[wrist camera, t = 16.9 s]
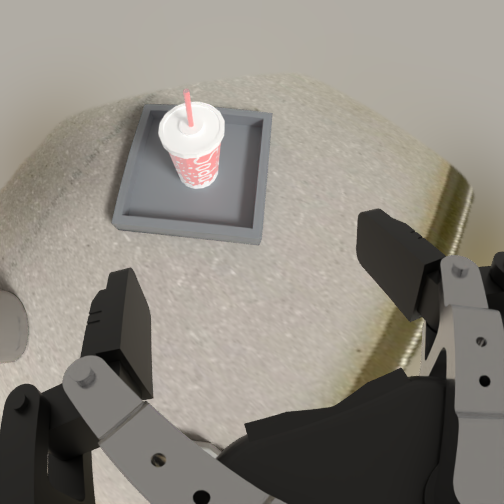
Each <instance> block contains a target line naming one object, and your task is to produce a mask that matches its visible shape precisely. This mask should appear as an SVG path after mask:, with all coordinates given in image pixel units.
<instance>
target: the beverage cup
mask: <svg viewBox="0 0 504 504" xmlns="http://www.w3.org/2000/svg"><path fill="white" fill-rule="evenodd" d="M183 93H184V100H185V103H183V104H181V105H178V106H175V107H174V108H172V109H171V110H170V111H169V112H167V113H166V114H165V115H164V117H163V119H162V120H161V122H160V124H159V132H158V134H159V137H160V139H161V142H162V145H163V147H164V148H165V149H166V150H167V151H168V152H169V154H170V156H171V159H172V161H173V163H174V166H175V168H176V170H177V172H178V175H179V177H180V179H181V181H182V182H183V183H184V184H185V185H186V186H188V187H191V188H193V189H200V188H204V187H207V186H209V185H210V184H211V183H212V182H214V181H215V179H216V177H217V175H218V167H219V156H220V146H221V141H222V139H223V137H224V124H225V120H224V119H223V117H222V115H221V113H220V111H218V110H217V109H216V108H214V107H213V106H212V105H209V104H206V103H202V102H191V101H190V93H189V89H184V90H183Z"/></svg>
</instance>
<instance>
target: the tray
mask: <svg viewBox="0 0 504 504" xmlns="http://www.w3.org/2000/svg"><path fill="white" fill-rule="evenodd" d="M175 106H178V105H165V104H145V106H144V109H143V112H142V115H141V117H140V120H139V124H138V127H137V130H136V133H135V136H134V139H133V142H132V146H131V149H130V153H129V156H128V159H127V163H126V167H125V170H124V174H123V178H122V181H121V185H120V189H119V193H118V197H117V202H116V206H115V210H114V215H113V219H112V224H113V225H114V226H115V227H116V228H117V229H118V230H123V231H132V232H142V233H151V234H161V235H170V236H179V237H189V238H198V239H207V240H216V241H226V242H235V243H244V244H253V245H259V244H260V242H261V240H262V230H263V219H264V207H265V196H266V184H267V173H268V161H269V149H270V137H271V125H272V113H266V112H258V111H249V110H240V109H230V108H219V107H214V108H216V109H217V110H218V111H220V113H221V115H222V117H223V119H224V120H225V124H224V137H223V139H222V141H221V146H220V156H219V167H218V175H217V177H216V179H215V181H214V182H212V183H211V184H210V185H209V186H207V187H204V188H200V189H193V188H191V187H188V186H186V185H185V184H184V183H183V182H182V181H181V179H180V177H179V175H178V172H177V170H176V168H175V166H174V163H173V161H172V159H171V156H170V154H169V152H168V151H167V150H166V149H165V148H164V147H163V145H162V142H161V139H160V137H159V134H158V132H159V124H160V122H161V120H162V119H163V117H164V115H165V114H166V113H167V112H169V111H170V110H171V109H172V108H174V107H175Z"/></svg>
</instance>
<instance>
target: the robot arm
mask: <svg viewBox="0 0 504 504" xmlns="http://www.w3.org/2000/svg"><path fill="white" fill-rule="evenodd" d="M356 253H357V257H358V260H359V262H360V264H361V266H362V267H363V268H364V269H365V270H366V271H367V272H368V273H369V275H370V276H371V277H372V278H373V279H374V280H375V281H376V283H377V284H378V285H379V286H380V287H381V288H382V289H383V291H384V292H385V293H386V294H387V295H388V296H389V298H390V299H391V300H392V301H393V302H394V303H395V305H396V306H397V307H398V308H399V309H400V311H401V312H402V313H403V314H404V315H405V317H406V318H407V319H408V320H409V321H410V322H411V321H414V320H416V319H418V318H420V317H423V318H424V323H423V327H422V351H421V367H420V373H419V376H411V377H407V375H406V374H405V372H404V371H403V369H402V368H399V369H397V370H395V371H393V372H391V373H388V374H386V375H384V376H382V377H379V378H377V379H375V380H372V381H370V382H368V383H366V384H365V385H364V386H362V387H361V388H360V389H358V390H357V391H355V392H354V393H353V394H351V395H350V396H348V397H347V398H346V399H344V400H343V401H341V402H340V403H338V404H337V405H335V406H333V407H328V408H320V409H312V410H302V411H291V412H285V413H281V414H278V415H275V416H271V417H268V418H264V419H260V420H257V421H253V422H249V423H245V424H244V425H245V428H246V432H247V435H245V436H243V437H241V438H239V439H238V440H236V441H235V442H233V443H232V444H230V445H229V446H228V447H227V448H225V449H224V450H223V451H222V452H221V453H220V454H219V455H218V456H217V457H216V458H214V457H212V456H211V455H210V454H208V453H207V452H206V451H205V450H203V449H202V448H201V447H199V446H198V445H197V444H196V443H194V442H193V441H192V440H191V439H189V438H188V437H187V436H186V435H185V434H183V433H182V432H181V431H180V430H179V429H177V428H176V427H175V426H174V425H173V424H172V423H170V422H169V421H168V420H167V419H166V418H165V417H164V416H163V415H161V414H160V413H159V412H158V411H157V410H156V409H155V408H154V407H153V406H152V405H150V404H149V403H148V402H147V401H145V402H144V401H142V400H147V399H152V398H153V382H152V354H151V315H150V310H149V307H148V304H147V301H146V299H145V297H144V294H143V292H142V290H141V287H140V285H139V283H138V280H137V278H136V275H135V273H134V271H133V269H132V268H127V269H123V270H119V271H115V272H111V273H110V274H109V278H108V282H107V287H106V289H104V290H100V291H99V292H98V294H97V295H96V296H95V298H94V299H93V301H92V303H91V307H90V312H89V314H90V315H89V316H88V321H87V324H88V325H87V326H86V330H85V335H84V341H83V346H82V351H81V357H80V358H79V359H77V360H76V361H74V362H73V363H72V364H71V365H70V366H69V367H68V368H67V370H66V372H65V374H64V376H63V383H62V384H60V385H58V386H56V387H53V388H51V389H49V390H47V391H45V392H43V393H41V392H40V391H39V390H38V389H37V388H36V387H35V386H33V385H31V384H23V385H20V386H18V387H16V388H15V389H14V390H13V391H12V392H11V393H10V394H9V396H8V397H7V399H6V402H5V405H4V410H3V416H2V422H1V429H0V504H95V496H94V485H93V473H92V456H91V451H92V450H94V449H96V448H99V447H101V449H102V450H103V451H104V452H105V454H106V455H107V456H108V457H109V459H110V460H111V461H112V462H113V463H114V465H115V466H116V467H117V468H118V469H119V470H120V472H121V473H122V474H123V475H124V476H125V477H126V478H127V479H128V481H129V482H130V483H131V484H132V485H133V486H134V487H135V488H136V489H137V490H138V491H139V492H140V493H141V494H142V495H143V496H144V497H145V498H146V499H147V500H148V501H149V502H150V503H151V504H504V252H498V253H496V254H495V256H494V258H493V261H492V265H491V266H485V267H478V266H477V265H476V264H475V263H474V262H473V261H471V260H469V259H468V258H466V257H463V256H458V255H450V256H447V257H446V256H445V255H444V254H443V253H442V252H440V251H439V250H438V249H437V248H436V247H434V246H433V245H432V244H431V243H430V242H428V241H427V240H426V239H425V238H422V236H421V235H420V234H418V233H417V232H415V230H413V229H412V228H411V227H410V226H408V225H407V224H406V223H403V222H401V221H398V220H396V219H394V218H392V217H390V216H389V215H388V214H386V213H385V212H384V211H382V210H381V209H374V210H369V211H365V212H361V213H360V214H359V216H358V224H357V245H356ZM28 336H29V326H28V319H27V315H26V312H25V309H24V307H23V305H22V303H21V302H20V300H19V299H18V298H17V297H16V296H15V295H14V294H12V293H10V292H8V291H3V290H0V363H9V362H14V361H15V360H17V359H19V357H20V356H21V355H22V354H23V352H24V350H25V348H26V345H27V342H28ZM47 466H48V473H47Z"/></svg>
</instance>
